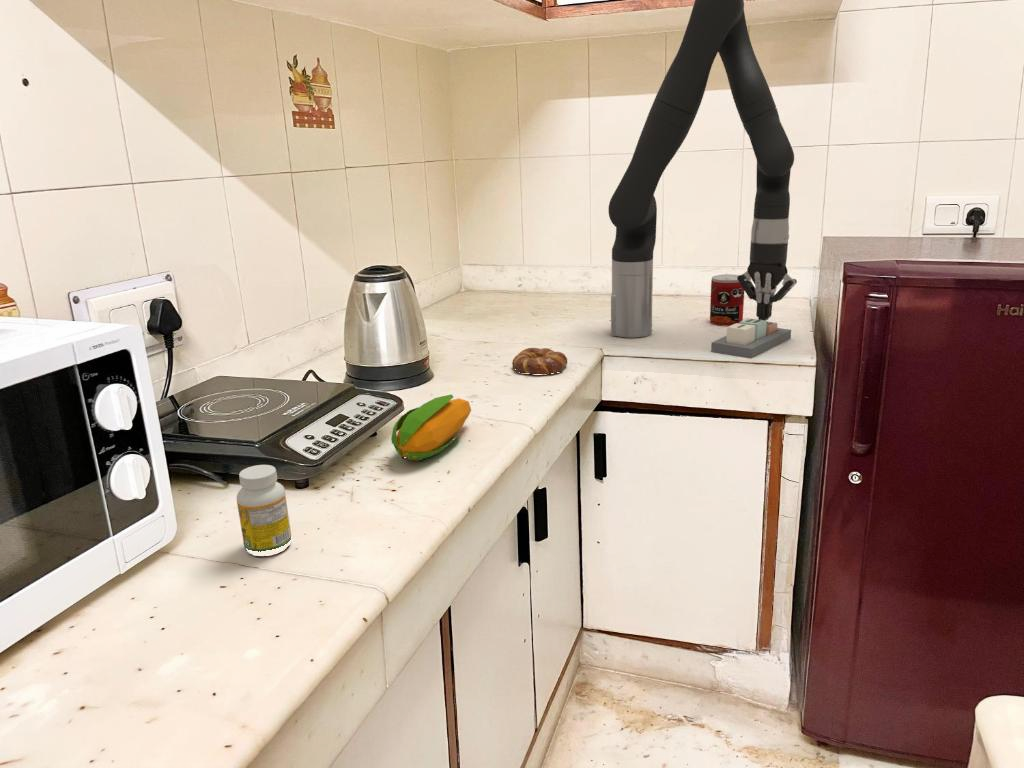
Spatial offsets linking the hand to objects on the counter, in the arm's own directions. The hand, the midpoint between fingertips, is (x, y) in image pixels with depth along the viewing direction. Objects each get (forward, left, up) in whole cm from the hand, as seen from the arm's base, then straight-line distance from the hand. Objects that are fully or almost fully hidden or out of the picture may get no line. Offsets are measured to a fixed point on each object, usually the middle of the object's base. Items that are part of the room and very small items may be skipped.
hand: (763, 319), depth 167 cm
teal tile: (-3, -5, -3) cm, 6 cm away
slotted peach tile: (0, 0, -4) cm, 4 cm away
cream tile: (-6, -10, -3) cm, 11 cm away
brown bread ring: (-46, -25, -5) cm, 53 cm away
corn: (-55, -66, -5) cm, 86 cm away
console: (-3, -5, -5) cm, 7 cm away
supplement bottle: (-66, -99, -5) cm, 119 cm away
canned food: (-7, +16, -5) cm, 18 cm away
